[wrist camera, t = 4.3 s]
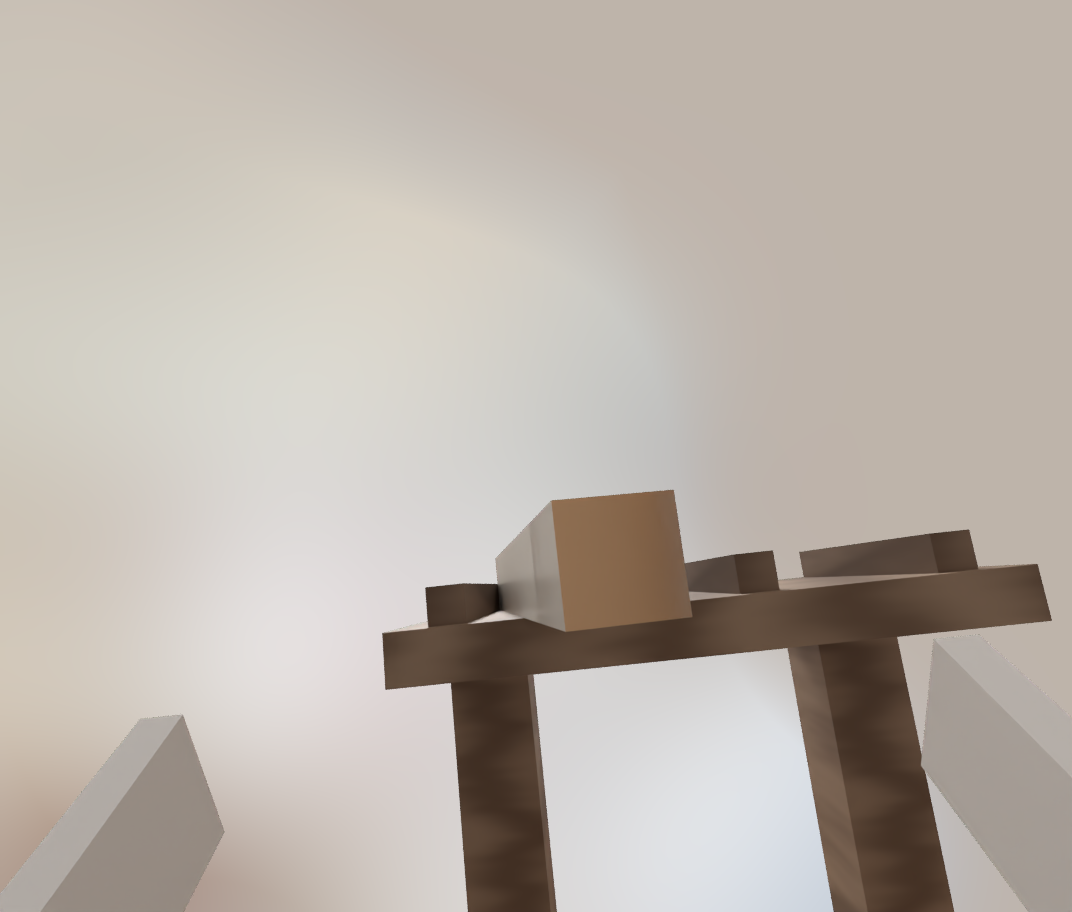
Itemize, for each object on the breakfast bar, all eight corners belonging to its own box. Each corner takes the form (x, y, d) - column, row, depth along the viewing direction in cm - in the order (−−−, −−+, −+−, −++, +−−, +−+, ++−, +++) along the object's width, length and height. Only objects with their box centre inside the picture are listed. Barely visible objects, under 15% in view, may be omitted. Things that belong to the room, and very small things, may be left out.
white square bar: (565, 631, 15) (550, 500, 15) (500, 610, 38) (495, 558, 39) (692, 617, 15) (674, 489, 16) (550, 604, 38) (545, 553, 39)
